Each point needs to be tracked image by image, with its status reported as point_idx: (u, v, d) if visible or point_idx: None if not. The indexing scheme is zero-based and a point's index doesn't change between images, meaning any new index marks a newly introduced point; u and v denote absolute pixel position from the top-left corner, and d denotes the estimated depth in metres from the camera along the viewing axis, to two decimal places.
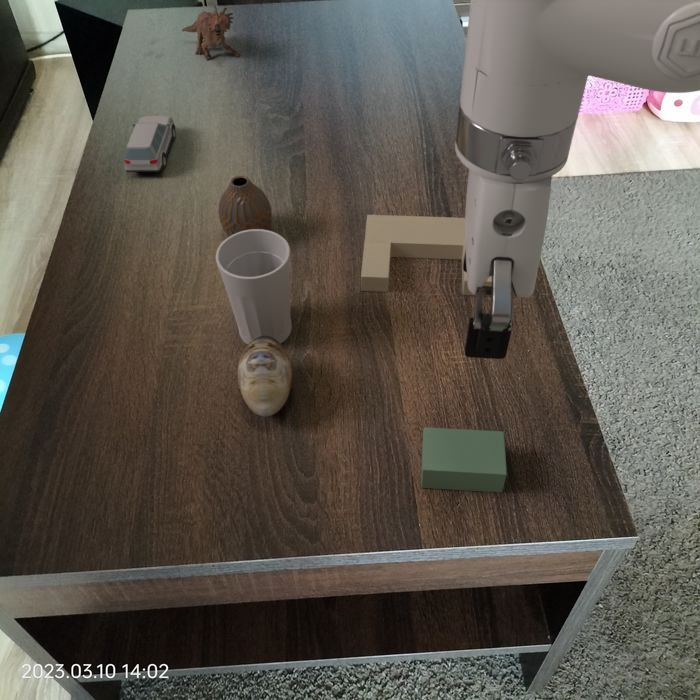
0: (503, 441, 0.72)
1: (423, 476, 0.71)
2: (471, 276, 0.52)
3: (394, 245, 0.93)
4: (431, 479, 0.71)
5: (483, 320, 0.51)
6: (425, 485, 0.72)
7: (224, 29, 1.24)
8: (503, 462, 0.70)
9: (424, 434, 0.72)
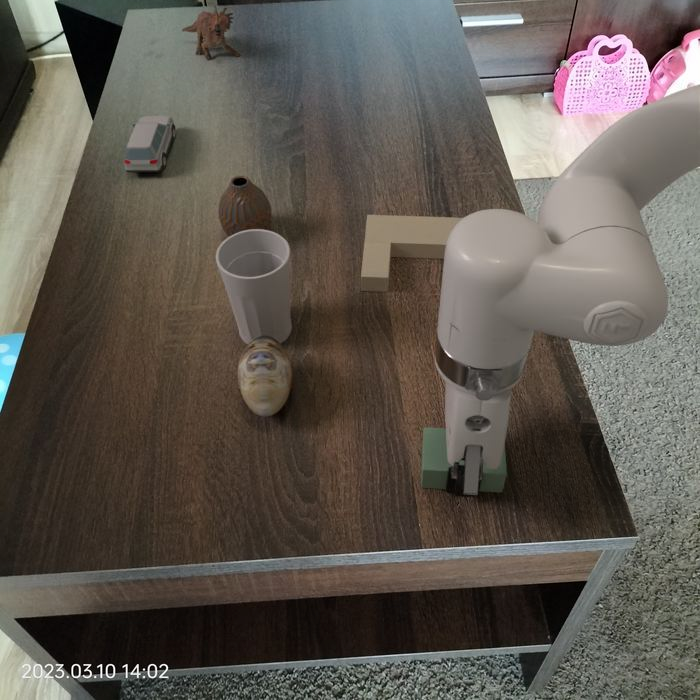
0: None
1: (423, 476, 0.71)
2: (449, 454, 0.63)
3: (394, 245, 0.93)
4: (431, 479, 0.71)
5: (458, 477, 0.65)
6: (425, 485, 0.72)
7: (224, 29, 1.24)
8: (503, 462, 0.70)
9: (424, 434, 0.72)
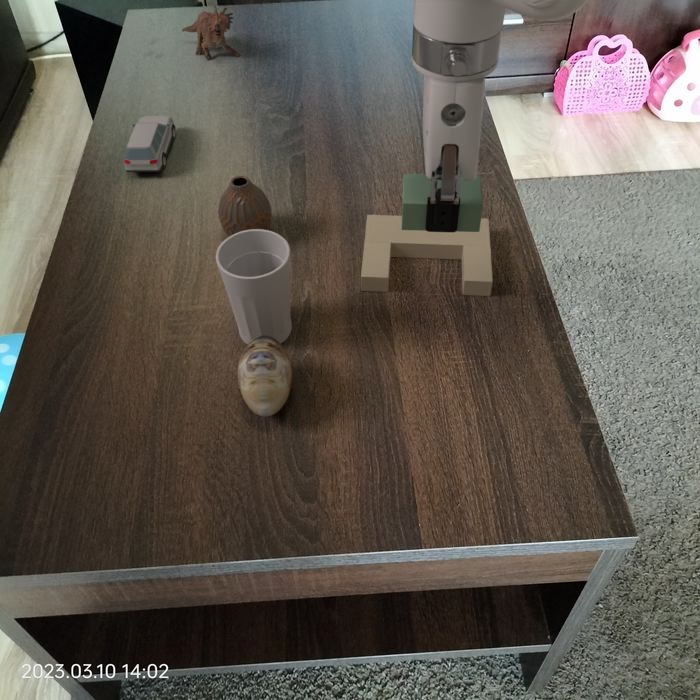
0: (480, 182, 0.74)
1: (403, 213, 0.73)
2: (427, 162, 0.66)
3: (394, 245, 0.93)
4: (411, 216, 0.74)
5: (436, 192, 0.68)
6: (405, 225, 0.75)
7: (224, 29, 1.24)
8: (479, 196, 0.73)
9: (404, 178, 0.75)
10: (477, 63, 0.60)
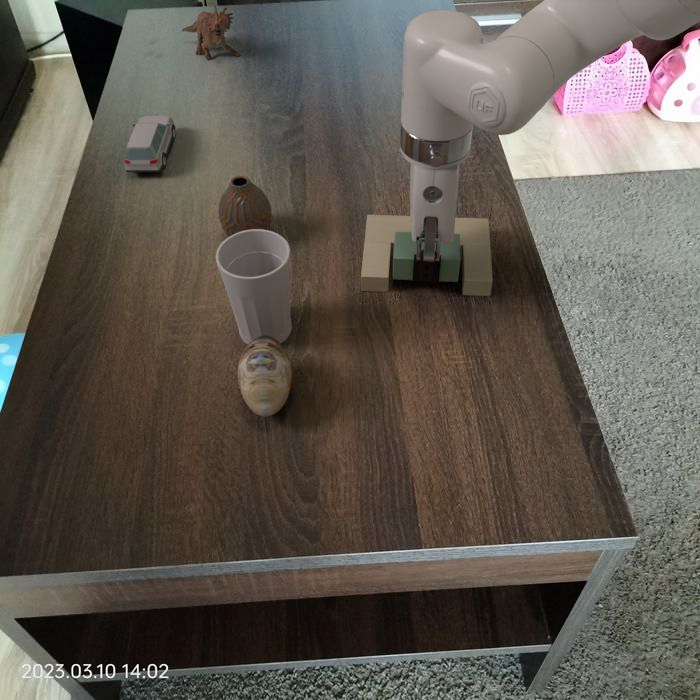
0: (458, 240, 0.89)
1: (394, 266, 0.88)
2: (412, 230, 0.81)
3: None
4: (400, 269, 0.88)
5: (420, 253, 0.83)
6: (396, 276, 0.89)
7: (224, 29, 1.24)
8: (458, 253, 0.87)
9: (395, 236, 0.90)
10: (452, 155, 0.75)
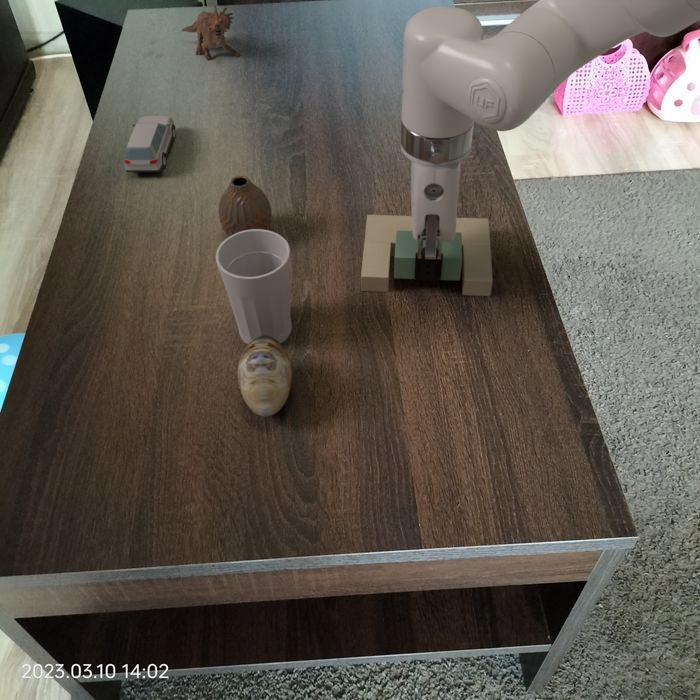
0: (460, 238, 0.88)
1: (395, 264, 0.88)
2: (414, 228, 0.80)
3: (394, 245, 0.93)
4: (402, 267, 0.88)
5: (421, 251, 0.82)
6: (397, 275, 0.89)
7: (224, 29, 1.24)
8: (459, 251, 0.87)
9: (396, 235, 0.89)
10: (453, 152, 0.74)
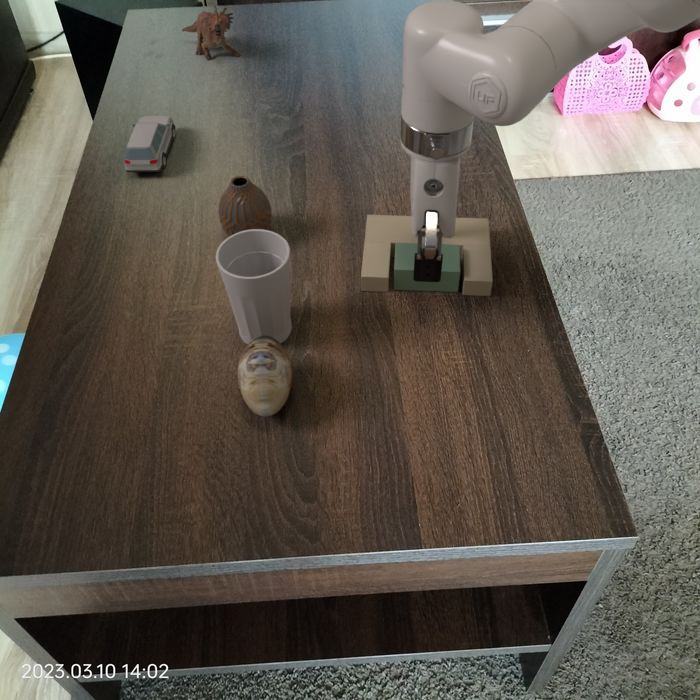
0: (458, 251, 0.90)
1: (395, 277, 0.89)
2: (413, 223, 0.80)
3: (394, 245, 0.93)
4: (401, 279, 0.89)
5: (421, 251, 0.80)
6: (397, 286, 0.90)
7: (224, 29, 1.24)
8: (458, 264, 0.88)
9: (396, 247, 0.91)
10: (452, 147, 0.74)
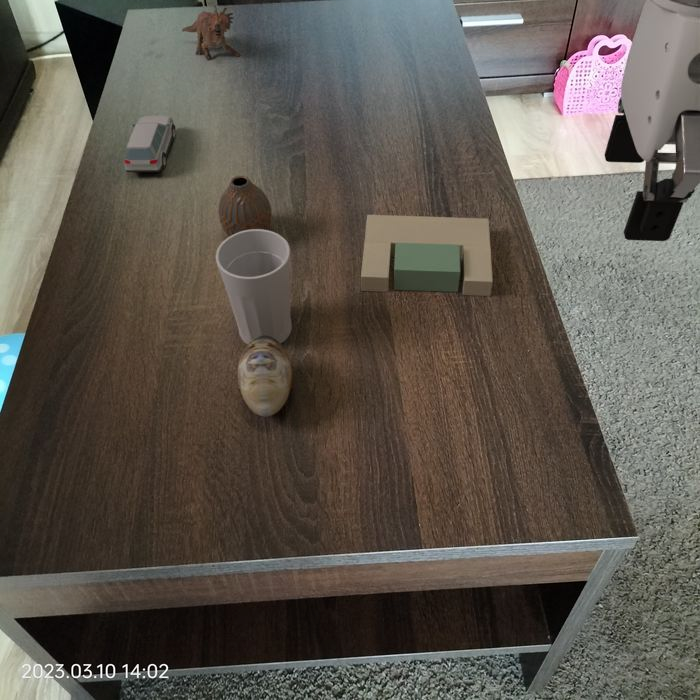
0: (458, 251, 0.90)
1: (395, 277, 0.89)
2: (650, 137, 0.48)
3: (394, 245, 0.93)
4: (401, 279, 0.89)
5: (664, 184, 0.47)
6: (397, 286, 0.90)
7: (224, 29, 1.24)
8: (458, 264, 0.88)
9: (396, 247, 0.91)
10: None
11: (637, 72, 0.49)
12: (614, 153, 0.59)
